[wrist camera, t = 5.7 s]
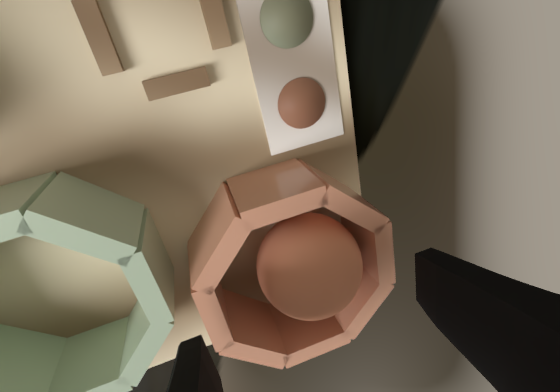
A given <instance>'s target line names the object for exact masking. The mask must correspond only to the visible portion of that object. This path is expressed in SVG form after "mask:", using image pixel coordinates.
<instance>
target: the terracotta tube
mask: <svg viewBox="0 0 560 392" xmlns="http://www.w3.org/2000/svg"><path fill="white" fill-rule="evenodd" d="M226 181H227V184H226V183H224V182H222V183H221V185H220V187H219V188H218V190H217V192H216V193H215V195H214V197H213V199H212V200H211V202H210V204H209V205H208V207H207V209H206V211H205V212H204V214H203V216H202V217H201V219H200V221H199V223H198V224H197V226H196V228H195V230H194V231H193V233H192V235H191V236H190V238H189V240H188V245H187V249H188V262H189V275H190V288H191V295H192V297H193V300H194V302H195V304H196V307H197V309H198V311H199V314H200V316H201V318H202V321H203V323H204V325H205V328H206V330H207V332H208V335H209V337H210V339H211V342H212V344H213V347H214V349H215V351H216V352H219V355H222V356H226V357H230V358H235V359H239V360H243V361H248V362H252V363H256V364H261V365H265V366H269V367H274V368H278V369H283V368H284V366H286V369H287V368H290V367H292V366H294V365H297V364H300V363H302V362H304V361H307V360H309V359H311V358H314V357H317V356H319V355H321V354H324V353H326V352H329V351H331V350H334V349H336V348H338V347H341V346H343V345H346V344H348V343H350V342H351V340H350V339H353V340H354V339H355V338H356V337H357V336H358V334H359V333H360V332H361V330H362V329H363V328H364V326H365V325H366V323H367V322H368V321H369V320H370V318H371V317H372V316H373V314H374V313H375V312H376V310H377V309H378V308H379V306H380V305H381V304H382V302H383V301H384V300H385V298H386V297H387V296H388V294H389V293H390V292H391V290H392V289H393V287H394V285H393V284H394V283H396V278H395V263H394V249H393V233H392V222H391V221H390V219H389V218H388V217H387V216H385V215H384V214H383V213H381V212H380V211H379V210H378V209H376V208H375V207H374V206H373V205H371V204H370V203H369V202H368V201H366V200H365V199H364V198H363V197H361V196H360V195H359V194H358V193H356V192H355V191H354V190H352V189H351V188H350V187H348V186H346V185H345V184H343V183H341V182H339V181H338V180H336V179H334V178H332V177H331V176H329V175H327V174H325V173H324V172H322V171H320V170H319V169H317V168H315V167H313V166H312V165H310V164H308V163H306V162H305V161H303V160H301V159H298V160H297V159H296V158H293V159H290V160H287V161H284V162H280V163H277V164H274V165H270V166H267V167H264V168H261V169H257V170H254V171H251V172H247V173H244V174H241V175H238V176H234V177H231V178H228V179H226ZM320 207H325V208H327V209H329V210H331V211H333V212H335V213H337V214H338V215H340V217H341V224H342V225H343V226H344V227H346V228H347V229H348V231H349V232H350V233H351V234H352V235H353V237H354V238H355V240H356V242H357V244H358V246H359V249H360V252H361V256H362V261H363V274H362V280H361V283H360V286H359V289H358V291H357V293H356V295H355V297H354V298H353V300H352V301H351V302H350V303H349V304H348V305H347V306H346V307H345V308H344V309H343V310H342V311H340V312H339V313H337V314H335V315H334V316H331V317H329V318H326V319H322V320H317V321H305V320H299V319H295V318H292V317H290V316H287V315H285V314H284V313H282V312H281V311H279V310H278V309H277V308H275V307H274V306H273V305H272V304H271V303H269V304H268V303H265V302H262V301H259V300H256V299H253V298H249V297H246V296H243V295H240V294H237V293H234V292H231V291H228V290H225V289H223V288H222V286H221V283H220V280H221V279H222V277H223V276H224V274H225V272H226V271H227V269H228V267H229V266H230V264H231V263H232V261H233V259H234V258H235V256H236V255H237V253H238V251H239V250H240V248H241V247H242V245H243V243H244V242H245V240H246V239H247V237H248V235H249V234H250V232H251V231H252V230H254V229H257V228H260V227H263V226H266V225H269V224H272V223H275V222H278V221H281V220H284V219H287V218H290V217H293V216H296V215H299V214H302V213H305V212H308V211H311V210H314V209H317V208H320Z"/></svg>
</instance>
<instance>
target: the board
mask: <svg viewBox="0 0 560 392" xmlns="http://www.w3.org/2000/svg"><path fill="white" fill-rule="evenodd" d="M293 158H296V159H297V160H298V159H301V160H303V161H305V162H306V163H308V164H310V165H312V166H313V167H315V168H317V169H319V170H320V171H322V172H324V173H325V174H327V175H329V176H331V177H332V178H334V179H336V180H338V181H339V182H341V183H343V184H345V185H346V186H348V187H350V188H351V189H352V190H354V191H355V192H356V193H358V194H359V195H360V196H361V187H360V178H359V169H358V160H357V151H356V142H355V133H354V124H353V115H352V105H351V96H350V87H349V78H348V69H347V60H346V51H345V42H344V33H343V24H342V14H341V5H340V0H0V186H2V185H6V184H9V183H13V182H17V181H20V180H24V179H27V178H31V177H35V176H38V175H42V174H46V173H49V172H53V171H55V172H56V174H57V175H58V174H59V173H60V172H64V173H66V174H69V175H71V176H74V177H76V178H79V179H81V180H84V181H86V182H89V183H91V184H94V185H96V186H99V187H101V188H104V189H106V190H109V191H111V192H114V193H116V194H119V195H121V196H124V197H126V198H129V199H131V200H134V201H136V202H139V203H141V204H144V209H147V208H148V209H149V212H150V214H151V216H152V218H153V221H154V223H155V225H156V228H157V230H158V232H159V235H160V237H161V239H162V241H163V244H164V246H165V248H166V251H167V253H168V255H169V257H170V260H171V262H172V264H173V267H174V319H175V321H174V326H173V328H172V329H171V331H170V333H169V334H168V336H167V338H166V339H165V341H164V342H163V344H162V346H161V347H160V349H159V351H158V352H157V354H156V356H155V357H154V359H153V361H152V362H151V364H150V366H149V367H148V368H151V367H154V366H156V365H159V364H161V363H164V362H167V361H169V360H172V359H174V358H176V354H177V350H178V346H179V344H180V343H181V342H182V341H185V340H188V339H190V338H193V337H196V336H198V335H202V337H203V340H204V342H205V344H206V346H208V345H211V344H212V342H211V339H210V337H209V335H208V332H207V330H206V328H205V325H204V323H203V321H202V318H201V316H200V314H199V311H198V309H197V307H196V304H195V302H194V300H193V297H192V295H191V288H190V275H189V262H188V249H187V245H188V240H189V238H190V236H191V235H192V233H193V231H194V230H195V228H196V226H197V224H198V223H199V221H200V219H201V217H202V216H203V214H204V212H205V211H206V209H207V207H208V205H209V204H210V202H211V200H212V199H213V197H214V195H215V193H216V192H217V190H218V188H219V187H220V185H221V183H222V182H224V183H226V184H227V181H226V179H228V178H231V177H234V176H238V175H241V174H244V173H247V172H251V171H254V170H257V169H261V168H264V167H267V166H270V165H274V164H277V163H280V162H284V161H287V160H290V159H293ZM361 197H362V196H361ZM305 213H318V214H323V215H326V216H329V217H331V218H333V219H335V220H336V221H338V222H340V223H341V217H340V215H338V214H337V213H335V212H333V211H331V210H329V209H327V208H325V207H320V208H317V209H314V210H311V211H308V212H305ZM278 222H280V221H278ZM278 222H275V223H272V224H269V225H266V226H263V227H260V228H257V229H254V230H252V231H251V232H250V234H249V235H248V237H247V239H246V240H245V242H244V243H243V245H242V247H241V248H240V250H239V251H238V253H237V255H236V256H235V258H234V259H233V261H232V263H231V264H230V266H229V267H228V269H227V271H226V272H225V274H224V276H223V277H222V279H221V280H220V283H221V286H222V288H223V289H225V290H228V291H231V292H234V293H237V294H240V295H243V296H246V297H249V298H253V299H256V300H259V301H262V302H265V303H268V304H269V303H270V302H269V300H268V299H267V298H266V296H265V294H264V293H263V291H262V289H261V287H260V284H259V281H258V277H257V270H256V262H257V254H258V251H259V247H260V245H261V243H262V241H263V239H264V237H265V236H266V234H267V233H268V232H269V230H270V229H271V228H272V227H273V226H274V225H276V224H277V223H278ZM137 300H138V299H137V297H136V296H135V294H134V292H133V290H132V288H131V286H130V284H129V282H128V280H127V278H126V276H125V275H124V273H123V271H122V269H121V267H120V265H118V264H115V263H112V262H109V261H105V260H102V259H99V258H96V257H93V256H89V255H86V254H83V253H80V252H77V251H73V250H70V249H67V248H64V247H61V246H57V245H54V244H51V243H48V242H45V241H42V240H38V239H35V238H32V237H29V236H26V235H24V236H21V237H18V238H14V239H11V240H8V241H4V242H1V243H0V324H3V325H7V326H12V327H17V328H22V329H27V330H31V331H36V332H41V333H46V334H51V335H55V336H60V337H65V338H69V337H71V336H74V335H77V334H80V333H83V332H85V331H88V330H91V329H94V328H97V327H99V326H102V325H105V324H108V323H111V322H114V321H116V320H119V319H122V318H125V317H128V316H129V315H130V313H131V311H132V309H133V308H134V306H135V304H136V302H137Z"/></svg>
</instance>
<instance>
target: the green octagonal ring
mask: <svg viewBox="0 0 560 392" xmlns="http://www.w3.org/2000/svg"><path fill="white" fill-rule="evenodd" d="M24 235H26V236H29V237H32V238H35V239H38V240H42V241H45V242H48V243H51V244H54V245H57V246H61V247H64V248H67V249H70V250H73V251H77V252H80V253H83V254H86V255H89V256H93V257H96V258H99V259H102V260H105V261H109V262H112V263H115V264H118V265H120V267H121V269H122V271H123V273H124V275H125V276H126V278H127V280H128V282H129V284H130V286H131V288H132V290H133V292H134V294H135V296H136V297H137V299H138V300H137V302H136V304H135V306H134V308H133V309H132V311H131V313H130V315H129V316H128V317H125V318H122V319H119V320H116V321H114V322H111V323H108V324H105V325H102V326H99V327H97V328H94V329H91V330H88V331H85V332H83V333H80V334H77V335H74V336H71V337H69V338H65V337H60V336H55V335H51V334H46V333H41V332H36V331H31V330H27V329H22V328H17V327H12V326H7V325H3V324H0V392H128V391H131V390H133V386H135V387H137V385H138V384H139V382H140V380H141V379H142V377H143V375H144V374H145V372H146V370H147V369H148V367H149V366H150V364H151V362H152V361H153V359H154V357H155V356H156V354H157V352H158V351H159V349H160V347H161V346H162V344H163V342H164V341H165V339H166V338H167V336H168V334H169V333H170V331H171V329H172V328H173V326H174V321H175V319H174V267H173V264H172V262H171V260H170V257H169V255H168V253H167V251H166V248H165V246H164V244H163V241H162V239H161V237H160V235H159V232H158V230H157V228H156V225H155V223H154V221H153V218H152V216H151V214H150V212H149V209H148V208H147V209H144V204H141V203H139V202H136V201H134V200H131V199H129V198H126V197H124V196H121V195H119V194H116V193H114V192H111V191H109V190H106V189H104V188H101V187H99V186H96V185H94V184H91V183H89V182H86V181H84V180H81V179H79V178H76V177H74V176H71V175H69V174H66V173H64V172H60V173H59V174H58V175H57V174H56V172H55V171H53V172H49V173H46V174H42V175H38V176H35V177H31V178H27V179H24V180H20V181H17V182H13V183H9V184H6V185H2V186H0V243H1V242H4V241H8V240H11V239H14V238H18V237H21V236H24Z"/></svg>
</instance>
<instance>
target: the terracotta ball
mask: <svg viewBox="0 0 560 392" xmlns="http://www.w3.org/2000/svg"><path fill="white" fill-rule="evenodd" d="M256 270H257V277H258V281H259V284H260V287H261V289H262V291H263V293H264V294H265V296H266V298H267V299H268V300H269V302H270V303H271V304H272V305H273V306H274V307H275V308H277V309H278V310H279V311H281V312H282V313H284V314H285V315H287V316H290V317H292V318H295V319H299V320H305V321H317V320H322V319H326V318H329V317H331V316H334V315H335V314H337V313H339V312H340V311H342V310H343V309H344V308H345V307H346V306H347V305H348V304H349V303H350V302H351V301H352V300H353V298H354V297H355V295H356V293H357V291H358V289H359V286H360V283H361V280H362V274H363V261H362V256H361V252H360V249H359V246H358V244H357V242H356V240H355V238H354V237H353V235H352V234H351V233H350V232H349V231H348V229H347V228H346V227H344V226H343V225H342V224H341V223H340V222H338V221H336V220H335V219H333V218H331V217H329V216H326V215H323V214H318V213H302V214H299V215H296V216H293V217H290V218H287V219H284V220H281V221H280V222H278V223H277V224H276V225H274V226H273V227H272V228H271V229H270V230H269V232H268V233H267V234H266V236H265V237H264V239H263V241H262V243H261V245H260V247H259V251H258V254H257V262H256Z"/></svg>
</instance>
